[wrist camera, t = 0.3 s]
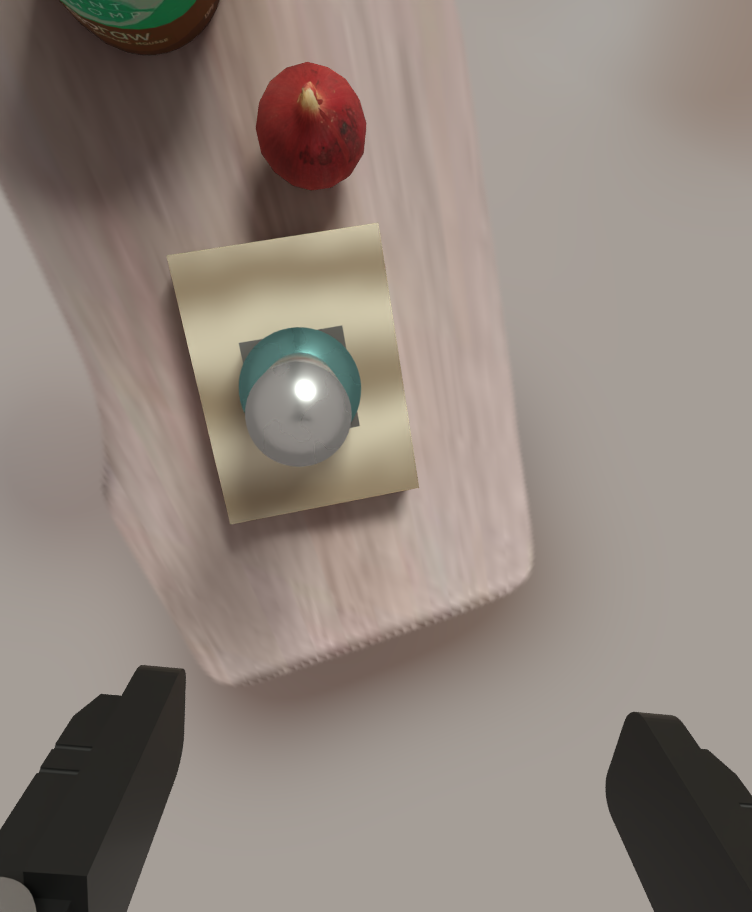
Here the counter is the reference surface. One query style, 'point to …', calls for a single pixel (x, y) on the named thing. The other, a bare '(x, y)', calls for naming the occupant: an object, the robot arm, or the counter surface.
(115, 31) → the food container
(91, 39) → the counter surface
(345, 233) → the wooden base with socket
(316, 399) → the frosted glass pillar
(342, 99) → the onion
